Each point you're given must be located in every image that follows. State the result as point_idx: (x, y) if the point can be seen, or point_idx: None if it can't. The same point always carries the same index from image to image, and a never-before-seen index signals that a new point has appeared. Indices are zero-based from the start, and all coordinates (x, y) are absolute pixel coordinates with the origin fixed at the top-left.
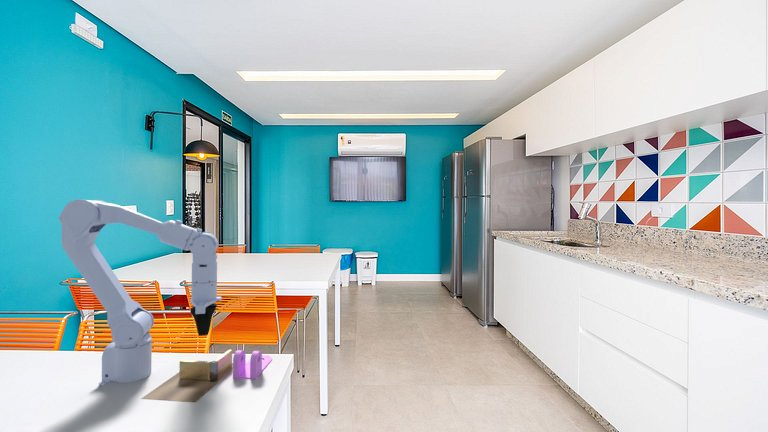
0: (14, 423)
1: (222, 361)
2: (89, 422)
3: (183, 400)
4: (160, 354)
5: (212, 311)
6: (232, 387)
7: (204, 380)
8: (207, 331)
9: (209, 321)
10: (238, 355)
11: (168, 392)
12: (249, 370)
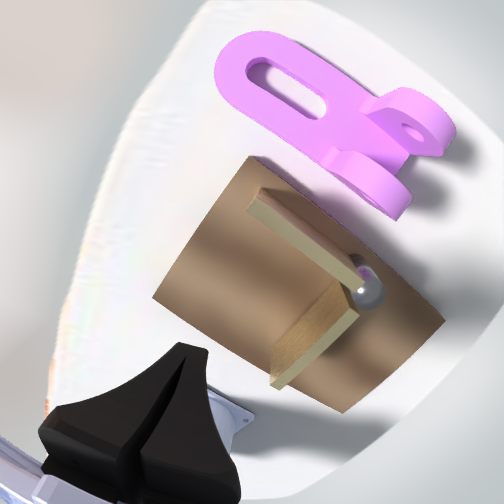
0: (288, 494)
1: (329, 249)
2: (355, 450)
3: (419, 344)
4: (65, 350)
5: (237, 479)
6: (403, 212)
7: None
8: (205, 365)
9: (210, 410)
10: (409, 201)
11: (352, 373)
12: (350, 137)
